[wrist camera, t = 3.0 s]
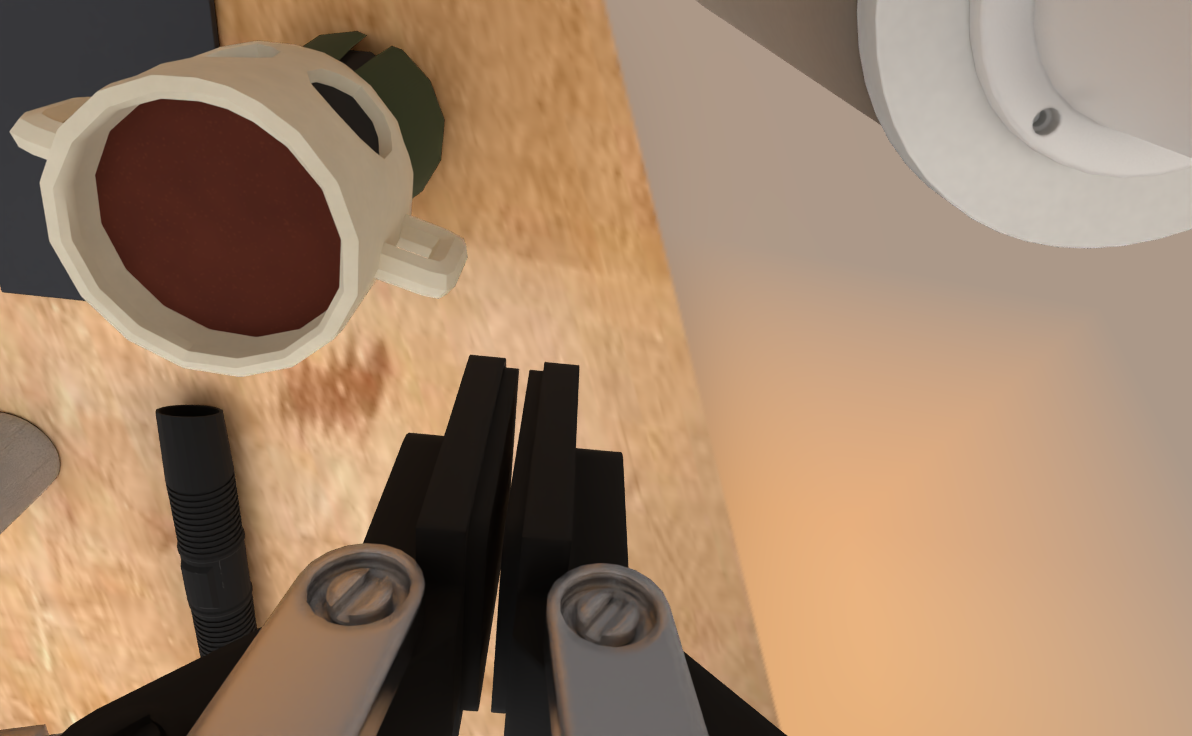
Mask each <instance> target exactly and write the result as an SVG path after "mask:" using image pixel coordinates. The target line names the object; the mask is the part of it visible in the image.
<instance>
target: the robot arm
mask: <svg viewBox="0 0 1192 736" xmlns="http://www.w3.org/2000/svg"><path fill="white" fill-rule="evenodd" d="M970 43H971V48H972V53H973V58H974V64H975V69H976V74H977V76H978V78H979V81H980V83H981V85H982V88H983V90H984V92H985V95H986V97H987V100H988V102H989V104H990V106H991V107H992V108H993V110H994V111H995V112H996V114H997V115H998V116H999V118H1000V119H1001V120H1002V122H1003V123H1004V125H1005V126H1006V127H1007V129H1008V130H1009V131H1010V132H1012V133H1013V134H1014V135H1015V136H1016V137H1018V138H1019V139H1020V140H1021V141H1023V142H1024V143H1025V144H1026V145H1027V146H1029V147H1030V148H1031V149H1032V150H1034V151H1036V152H1038V153H1040V154H1042V155H1044V156H1046V157H1048V158H1050V159H1051V160H1053V161H1055V162H1057V163H1059V164H1062V165H1065V166H1068V167H1071V168H1074V169H1077V170H1080V171H1083V172H1085V173H1088V174H1096V175H1105V176H1113V177H1122V178H1125V177H1138V176H1152V175H1161V174H1165V173H1169V172H1173V171H1177V170H1181V169H1185V168H1189V167H1192V0H970ZM1039 112H1040V117H1039V118H1038V120H1037V121H1036V122H1034V123H1033V120H1034V118H1035V117H1036V115H1037V114H1038V113H1039ZM518 377H519V369H516V368H506V358H498V357H488V356H478V355H470V356H469V359H468V362H467V365H466V368H465V371H464V375H463V378H462V381H461V384H460V387H459V391H458V394H457V397H456V400H455V403H454V407H453V410H452V413H451V416H450V419H449V423H448V426H447V429H446V432H445V435H444V436H439V435H428V434H417V433H408V434H406V436H405V438H404V440H403V443H402V445H401V448H400V450H399V453H398V456H397V458H396V461H395V463H394V466H393V468H392V471H391V473H390V476H389V478H388V481H387V484H386V486H385V489H384V491H383V494H382V496H381V499H380V501H379V504H378V507H377V509H376V512H375V514H374V517H373V519H372V522H371V524H370V527H369V529H368V532H367V535H366V537H365V540H364V542H363V544H356V545H348V546H344V547H341V548H338V549H335V550H332V551H329V552H327V553H325V554H324V555H322V556H320V557H319V558H317V559H315V560H314V561H312V562H311V563H310V564H309V565H308V566H307V567H306V568H305V569H304V570H303V571H302V572H301V573H300V574H299V576H298V577H297V578H296V580H295V581H294V583H293V584H292V586H291V587H290V588H289V590H288V591H287V593H286V594H285V596H284V597H283V598H282V600H281V601H280V603H279V604H278V606H277V607H276V608H275V610H274V611H273V613H272V614H271V616H270V617H269V618H268V620H267V621H266V623H265V624H264V626H263V627H261V628H259V629H257V630H255V631H253V632H251V633H249V634H247V635H245V636H243V637H241V638H239V639H237V640H235V641H233V642H231V643H229V644H227V645H225V646H223V647H221V648H219V649H217V650H215V651H213V652H211V653H209V654H207V655H205V656H203V657H201V658H199V659H197V660H195V661H193V662H191V663H189V664H187V665H185V666H183V667H181V668H179V669H177V670H175V671H173V672H171V673H169V674H167V675H165V676H163V677H161V678H159V679H157V680H155V681H153V682H151V683H149V684H147V685H145V686H143V687H141V688H139V689H137V690H135V691H133V692H131V693H129V694H127V695H125V696H123V697H121V698H119V699H117V700H115V701H113V702H111V703H109V704H107V705H105V706H103V707H101V708H99V709H97V710H95V711H93V712H92V713H90V714H88V715H87V716H85V717H84V718H82V719H80V720H79V721H77V722H75V723H74V724H72V725H71V726H70V727H69V728H68V729H67V730H66V731H65V732H63V733H61V734H53V735H49V733H48V731H47V728H46V725H45V724H44V725H36V726H28V727H20V728H12V729H4V730H0V736H458V735H459V729H460V724H461V718H462V712H463V710H466V711H478V709H479V704H480V698H481V691H482V685H483V678H484V672H485V666H486V659H487V653H488V646H489V640H490V634H491V627H492V621H493V614H494V608H495V602H496V595H497V589H498V582H499V576H500V587H499V602H498V616H497V631H496V646H495V661H494V675H493V690H492V705H491V712H493V713H506V718H505V730H504V736H787V735H786V734H784V733H783V732H782V731H781V730H779V729H778V728H777V727H776V726H775V725H773V724H772V723H771V722H770V721H768V720H767V719H766V718H765V717H763V716H762V715H761V714H760V713H759V712H757V711H756V710H755V709H754V708H752V707H751V706H750V705H749V704H748V703H746V702H745V701H744V700H743V699H741V698H740V697H739V696H738V695H736V694H735V693H734V692H733V691H732V690H730V689H729V688H728V687H727V686H725V685H724V684H723V683H722V682H721V681H719V680H718V679H717V678H716V677H714V676H713V675H712V674H711V673H709V672H708V671H707V670H706V669H705V668H703V667H702V666H701V665H700V664H698V663H697V662H696V661H695V660H693V659H692V658H691V657H690V656H689V655H687V654H686V653H685V652H684V651H683V649H682V645H681V642H680V639H679V635H678V632H677V629H676V625H675V622H674V619H673V615H672V612H671V609H670V605H669V603H668V602H667V600H666V598H665V596H664V594H663V592H662V591H661V590H660V588H659V587H658V586H657V585H656V584H655V583H654V582H653V581H652V580H651V579H649V578H647V577H646V576H644V575H642V574H641V573H639V572H637V571H636V570H633V569H630V568H628V549H627V529H626V508H625V488H624V467H623V454H622V453H621V452H612V451H601V450H590V449H579V448H576V433H577V410H578V387H579V365H569V364H559V363H549V362H545V363H544V370H543V371H536V370H530V371H529V377H528V384H527V390H526V396H525V402H524V408H523V415H522V421H521V427H520V433H519V440H518V446H517V452H516V458H515V464H514V471H513V477H512V483H511V475H512V461H513V447H514V433H515V419H516V405H517V391H518ZM500 570H501V572H500Z"/></svg>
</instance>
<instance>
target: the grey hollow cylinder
mask: <svg viewBox="0 0 1192 736" xmlns="http://www.w3.org/2000/svg"><path fill="white" fill-rule="evenodd" d="M59 469H60V461H59V456H58V453H57V451H56V449H55V447H54V445H53V444H52V442H51V441H50V440H49V438H48V437H47V436H46V435H45V434H44V433H43V432H42V431H40V430H39V429H38V428H37V427H35V426H34V425H32V424H31V423H29V422H27V421H25V420H23V419H21V418H19V417H16V416H13V415H10V414H6V413H0V534H1V533H2V532H3V531H4V530H5V529H6V528H7V527H8V526H9V525H10V524H11V523H12V522H13V521H14V520H15V519H16V518H17V517H18V516H20V515H21V514H22V513H23V512H24V511H25V510H26V509H27V508H28V507H29V506H30V505H31V504H32V503H33V502H34V501H35V500H36V499H37V498H38V497H39V496H40V495H41V494H42V493H43V492H44V491H45V490H46V489H47V488H48V487H49V486H50V485H51V484H52V482H53V481H54V480H55V479H56V477H57V476H58V473H59Z"/></svg>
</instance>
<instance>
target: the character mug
mask: <svg viewBox="0 0 1192 736" xmlns="http://www.w3.org/2000/svg"><path fill="white" fill-rule="evenodd" d="M366 36H367V35H365V34H363V33H361V32H358V31H354V32H344V33H334V34H325V35H319V36H318V37H316V38H315V39H313V40H312V41H310V42H309V43H307V44H306V45H304V46H303V47H302V46H299V45H295V44H286V43H277V42H267V41H251V42H246V43H240V44H234V45H228V46H223V47H219V48H216V49H213V50H211V51H208V52H205V53H202V54H200V55H197V56H194V57H192V58H187V59H182V60H177V61H172V62H167V63H163V64H160V65H158V66H156V67H153V68H151V69H149V70H147V71H145V72H143V73H141V74H139V75H136V76H133V77H130V78H127V79H123V80H120V81H117V82H113V83H110V84H109V85H107V86H105V87H104V88H102V89H100V90H99V91H97V92H96V93H95V94H94V95H93V96H92V97H77V98H71V99H68V100H65V101H61V102H58V103H54V104H51V105H48V106H44V107H41V108H37V109H34V110H31V111H27V112H25V113H24V114H23V115H22V116H21V117H20V118H19V119H18V121H17V122H16V123H15V125H14V126H13V127H12V129H11V130H10V133H11V135H12V136H13V138H14V140H15V141H16V143H17V145H18V147H20V148H22V149H24V150H25V151H27V152H29V153H31V154H33V155H35V156H38V157H41V158H44V159H46V160H47V161H46V164H45V167H44V170H43V173H42V176H41V180H40V188H41V194H42V200H43V206H44V212H45V218H46V224H47V230H48V236H49V242H50V243H51V245H52V247H53V248H54V250H55V252H56V254H57V255H58V257H59V259H60V261H61V262H62V264H63V266H64V267H65V269H66V271H67V273H68V274H69V276H70V278H71V280H72V281H73V283H74V285H75V287H76V288H77V290H78V292H79V293H80V295H81V297H82V298H84V299H85V300H86V301H87V302H88V303H89V304H90V305H91V306H92V307H93V308H94V309H95V310H96V311H97V312H99V313H100V314H101V315H102V316H103V317H104V318H105V319H106V320H107V321H108V322H109V323H110V324H111V325H112V326H114V327H115V328H116V329H117V330H118V331H119V332H120V333H121V334H122V335H123V336H124V337H125V338H126V339H127V340H129V341H131V342H133V343H135V344H137V345H139V346H141V347H143V348H145V349H147V350H149V351H151V352H153V353H155V354H157V355H159V356H161V357H163V358H165V359H167V360H169V361H171V362H173V363H175V364H177V365H179V366H180V367H182V368H187V369H193V370H199V371H205V372H212V373H218V374H224V375H231V376H237V377H243V376H249V375H254V374H259V373H264V372H269V371H275V370H280V369H285V368H290V367H293V366H295V365H296V364H298V363H299V362H301V361H302V360H304V359H305V358H307V357H308V356H309V355H311V354H312V353H314V352H315V351H317V350H318V349H320V348H321V347H323V346H324V345H326V344H327V343H329V342H330V341H332V340H333V339H334V338H335V337H336V336H337V335H338V334H339V333H340V332H341V331H342V330H343V328H344V327H345V325H346V324H347V322H348V321H349V319H350V318H351V316H352V315H353V313H354V312H355V311H356V309H357V308H358V306H359V305H360V303H361V302H362V300H363V299H364V297H365V296H366V294H367V293H368V291H369V290H370V288H371V287H372V285H373V284H374V282H375V281H376V279H378V280H381V281H384V282H386V283H389V284H392V285H395V286H397V287H400V288H403V289H406V290H409V291H411V292H414V293H417V294H420V295H422V296H427V297H432V298H437V299H439V298H441V297H443V296H444V295H446V294H447V293H448V292H449V291H450V290H451V289H452V288H454V287H455V285H456V283H457V281H458V278H459V276H460V274H461V272H462V269H463V267H464V265H465V262H466V260H467V258H468V256H467V249H466V244H465V241H464V239H463V238H461V237H460V236H458V235H456V234H454V233H452V232H450V231H449V230H447V229H445V228H442V227H439V226H437V225H434V224H431V223H429V222H426V221H424V220H421V219H418V218H416V217H413V216H411V211H412V198H414V197H415V196H416V195H418V194H419V193H420V192H422V191H423V189H424V187H425V186H426V184H427V182H428V181H429V179H430V177H431V176H432V174H433V172H434V171H435V169H436V167H437V166H438V164H439V162H440V161H441V154H442V143H443V132H444V121H445V119H444V117H443V114H442V111H441V109H440V106H439V103H438V101H437V98H436V95H435V93H434V90H433V87H432V85H431V82H430V80H429V79H428V78H427V77H426V75H425V74H424V73H423V72H422V71H421V70H420V69H419V68H418V67H417V66H416V64H415V63H414V62H413V61H412V60H411V59H410V58H409V57H408V56H407V55H406V53H405V52H404V51H403V50H401V49H399V48H396V47H394V46H391V47H389V48H388V49H386V50H385V51H383V52H381V53H380V54H378V55H377V56H375V55H374V54H373V53H372V52H364V51H354V50H350V49H351V48H352V47H353V46H355V45H356V44H357V43H358V42H360V41H361V40H362V39H363V38H365V37H366ZM398 247H399V248H398ZM403 249H404V250H403ZM406 250H407V251H406ZM409 251H410V252H409ZM411 252H412V253H411ZM414 253H415V254H414ZM417 254H418V255H417ZM422 256H423V257H422ZM425 257H426V258H425Z"/></svg>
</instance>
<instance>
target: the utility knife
mask: <svg viewBox="0 0 1192 736" xmlns="http://www.w3.org/2000/svg"><path fill="white" fill-rule="evenodd" d="M156 419H157V426H158V433H159V440H160V447H161V454H162V461H163V468H164V475H165V481H166V486H167V491H168V495H169V500H170V505H171V510H172V516H173V521H174V526H175V531H176V535H177V540H178V542H177V548H178V552H179V554H180V556H181V570H182V575H183V580H184V585H185V590H186V595H187V600H188V603H189V606H190V608H191V612H192V617H193V622H194V627H195V632H196V637H197V642H198V647H199V652H200V657H203V656H205V655H207V654H209V653H211V652H213V651H215V650H217V649H219V648H221V647H223V646H225V645H227V644H229V643H231V642H233V641H235V640H237V639H239V638H241V637H243V636H245V635H247V634H249V633H251V632H253V631H255V630H257V625H256V618H255V611H254V604H253V596H252V583H251V581H250V576H249V569H248V562H247V555H246V548H245V541H244V539H245V533H244V529H243V527H242V522H241V515H240V507H239V500H238V493H237V487H236V479H235V472H234V466H233V461H232V455H231V450H230V445H229V440H228V435H227V430H226V425H225V420H224V415H223V410H221V409H219V408H216V407H211V406H204V405H174V406H166V407H162V408H159V409H156Z"/></svg>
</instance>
